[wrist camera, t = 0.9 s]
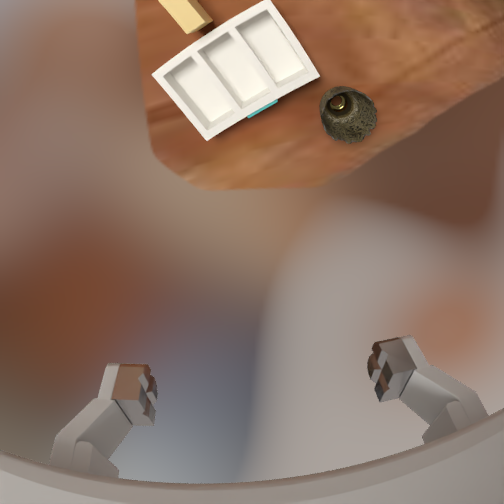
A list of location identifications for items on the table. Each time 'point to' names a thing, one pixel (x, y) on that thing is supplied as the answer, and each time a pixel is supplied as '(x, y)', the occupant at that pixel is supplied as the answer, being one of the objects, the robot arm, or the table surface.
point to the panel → (187, 14)
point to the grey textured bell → (347, 114)
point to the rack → (236, 70)
